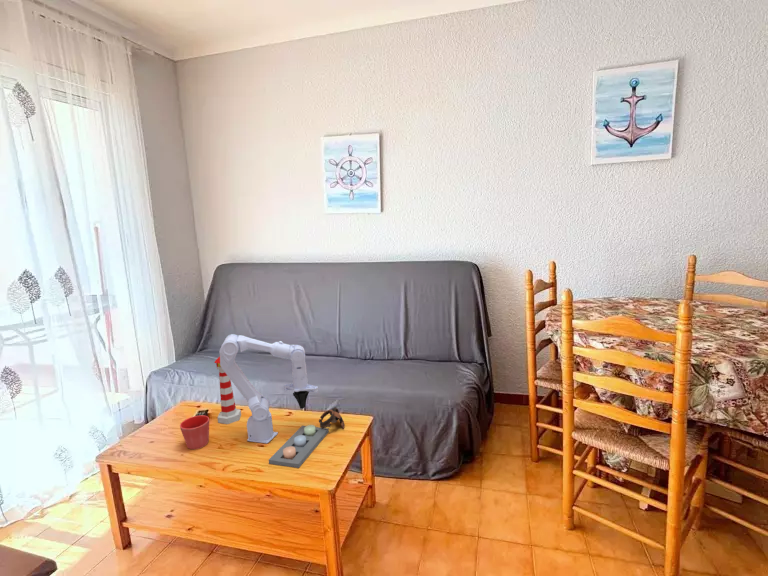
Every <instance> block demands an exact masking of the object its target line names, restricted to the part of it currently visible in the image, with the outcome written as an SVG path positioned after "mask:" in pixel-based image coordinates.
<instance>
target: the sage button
mask: <svg viewBox="0 0 768 576" xmlns="http://www.w3.org/2000/svg"><path fill="white" fill-rule="evenodd" d="M305 426H306V427H305V428H304V433H305V436H314V435H315V434H316V430H315V427H316V426H315V425H314V424H308V425H305Z"/></svg>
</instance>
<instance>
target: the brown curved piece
mask: <svg viewBox="0 0 768 576" xmlns="http://www.w3.org/2000/svg"><path fill="white" fill-rule="evenodd" d="M328 415H330V416H329V417H328V419H326V420H325V421H324V418H326V416H328ZM337 422H339V423H340V426H341V428H342V430H343V429H345V422H344V419H343V417H342V415H341V414H340V411H339V409H338V408H337V407H333V408H332V409H327V410H326V411H324V412H323V413H322V414H321V416H320V417H319V420H318V423H319V427H320V428H331V424H335V423H337Z"/></svg>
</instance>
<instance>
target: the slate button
mask: <svg viewBox="0 0 768 576" xmlns="http://www.w3.org/2000/svg"><path fill="white" fill-rule="evenodd" d="M294 444H295V447H304V446H305V445H306V436H304V435H299V436H296V437H295V438H294Z"/></svg>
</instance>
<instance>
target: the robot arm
mask: <svg viewBox="0 0 768 576" xmlns="http://www.w3.org/2000/svg"><path fill="white" fill-rule="evenodd" d="M220 346H221V347H220V348H219V351H218V353H219V356H220V366H221V368H222V369H223V370H224V372H225V373H226V374H227V375H228V377H229V378H230V380H231V383H233V385H234V386H235V388H236V389H237V390H238V392H239V393H240V394H241V396H242V397H243V398H244V399H245V401H246V402H247V405H248V408H249V410H250V412H251V415H250V416H249V417H248V418H247V422H246V430H247V432H246V433H247V440H246V441H247V442H252V443H253V442H254V443H262V444H268V443H270V442H271V441H272V440H273V439H274V438H275V437H276V436H277V435H278V434H279V432H278V431H274V427H273V419H272V418H273V417H272V413H271V411H270V405H271V402H270V400H269V398H268V397H266V396H264V395H263V394H262V393H261V392H259V391H258V389H256V387H255V386H254V385H253V383H252V382H251V381H250V380H249V379H248V377H247V375H246V374H245V373H244V372H243V370H242V369H241V367H240V366H239V364H237V362H236V361H235V360H236V357H237V354H238V352H240V353H243V352H245V351H247V350H255V351H260V352H266V353H270V355H271V356H272V357H276V358H280V359H284V360H290V361H291V375H292V383H286V384H284V385H283V391H293V393H292V396H294V398H295V400H296V401H297V404H298V406H299V409H300V410H301V409H303V410H304V409H305V408H306V406H307V405H306V404H307V399H308V396H309V393H314V394H316V393H318V392H319V386H317V385H312V384H309V383H308V373H307V372H308V371H307V363H306V351H305V348H304V346H302V345H300V344H288V343H284V342H283V341H281V340H279V341H274V342H273V343H270V342H266V341H263V340H259V339H255V338H251V337H248V336H245V335H243V334H241V335H240V334H239V335H238V334H235V333H231V334H228V335H227V336H226V337H225V339H224V341H223V343H222V344H221V345H220ZM239 350H240V351H239Z"/></svg>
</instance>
